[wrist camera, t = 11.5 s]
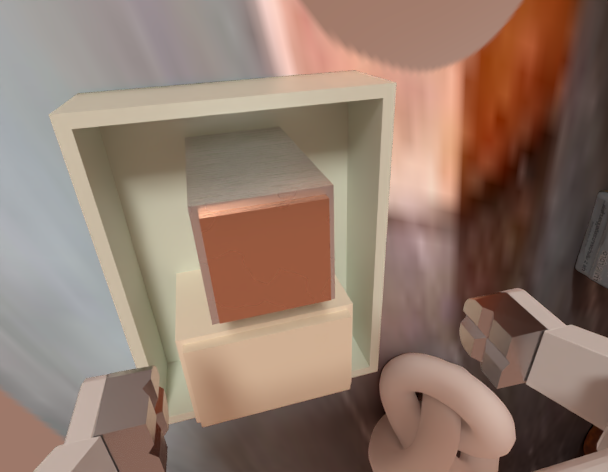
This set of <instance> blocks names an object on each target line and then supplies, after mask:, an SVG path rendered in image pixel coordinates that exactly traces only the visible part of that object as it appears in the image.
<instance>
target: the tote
mask: <svg viewBox="0 0 608 472" xmlns="http://www.w3.org/2000/svg"><path fill="white" fill-rule="evenodd" d="M395 98H396V82H393V81H389V80H386V79H382V78H379V77H376V76H372V75H369V74H365V73H362V72H359V71H355V70H353V71H341V72H329V73H317V74H305V75H293V76H281V77H269V78H257V79H245V80H233V81H221V82H209V83H197V84H185V85H173V86H161V87H149V88H137V89H125V90H113V91H101V92H89V93H78V94H77V95H75V96H74V97H72V98H71V99H70V100H68V101H67V102H66V103H64V104H63V105H61V106H60V107H59V108H57V109H56V110H55V111H53V112H52V113H50V114H49V117H50V120H51V123H52V126H53V128H54V131H55V134H56V137H57V140H58V143H59V146H60V149H61V152H62V154H63V157H64V160H65V163H66V166H67V169H68V172H69V175H70V178H71V180H72V183H73V186H74V189H75V192H76V195H77V198H78V201H79V203H80V206H81V209H82V212H83V215H84V218H85V221H86V224H87V227H88V229H89V232H90V235H91V238H92V241H93V244H94V247H95V250H96V253H97V255H98V258H99V261H100V264H101V267H102V270H103V273H104V276H105V278H106V281H107V284H108V287H109V290H110V293H111V296H112V299H113V302H114V304H115V307H116V310H117V313H118V316H119V319H120V322H121V325H122V327H123V330H124V333H125V336H126V339H127V342H128V345H129V348H130V351H131V353H132V356H133V359H134V362H135V365H136V368H142V367H148V366H153V365H154V366H156V367H157V370H158V373H159V376H160V379H159V386H160V387H161V388H163V389H164V391H165V394H166V398H167V403H168V413H169V424H172V423H176V422H180V421H184V420H188V419H192V418H196V417H195V413H194V410H193V406H192V402H191V399H190V395H189V391H188V387H187V384H186V380H185V376H184V373H183V369H182V365H181V361H180V358H179V354H178V350H177V346H176V343H175V321H176V273H182V272H187V271H193V270H199V269H200V264H199V260H198V255H197V250H196V245H195V241H194V236H193V231H192V226H191V222H190V217H189V212H188V208H187V183H186V157H185V137H194V136H202V135H211V134H220V133H228V132H237V131H245V130H254V129H263V128H271V127H280V128H281V129H282V130H283V131H284V132H285V133H286V134H287V135H288V136H289V137H290V138H291V140H292V141H293V142H294V143H295V144H296V145H297V146H298V147H299V148H300V149H301V150H302V151H303V152H304V154H305V155H306V156H307V157H308V158H309V159H310V160H311V161H312V162H313V163H314V164H315V165H316V167H317V168H318V169H319V170H320V171H321V172H322V173H323V174H324V175H325V176H326V177H327V178H328V180H329V181H330V182H331V183H332V184H333V185H334V251H335V275H336V277H337V278H338V280H339V282H340V283H341V285H342V287H343V288H344V290H345V292H346V293H347V295H348V297H349V298H350V300H351V301H352V303H353V322H352V371H351V378H353V377H357V376H361V375H365V374H369V373H373V372H377V371H378V359H379V344H380V329H381V313H382V298H383V282H384V267H385V252H386V236H387V221H388V205H389V190H390V175H391V159H392V144H393V129H394V113H395Z"/></svg>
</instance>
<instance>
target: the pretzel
mask: <svg viewBox="0 0 608 472" xmlns="http://www.w3.org/2000/svg"><path fill="white" fill-rule="evenodd" d="M379 391H380V397H381V401H382V404H383V407H384V409H385V412H386V414H384V415H383V416H382V417H381V419H380V420H379V421H378V422H377V424H376V425H375V427H374V429H373V432H372V434H371V438H370V443H369V448H368V457H369V461H370V464H371V467H372V470H373V472H498V466H499V457H501V456H504V455H506V454H508V453H509V452H510V450H511V448H512V447H513V445H514V443H515V440H516V435H515V424H514V421H513V418H512V416H511V414H510V412H509V411H508V409H507V408H506V406H505V405H504V403H503V402H502V401H501V400H500V399H499V398H498V397H497V396H496V394H495V393H494V392H492V391H491V390H490V389H489V388H488V387H487V386H486V385H485V384H483V383H482V382H481V381H480V380H478V379H477V378H475V377H474V376H473V375H471V374H470V373H469V372H468V371H467V370H466V369H465V368H463V367H462V366H459V365H456V364H453V363H450V362H447V361H445V360H443V359H441V358H438V357H434V356H431V355H427V354H421V353H405V354H402V355H399V356H397V357H395V358H393V359H391V360H390V361H389V362H388V363H387V364H386V365H385V366H384V368H383V370H382V372H381V377H380V383H379ZM415 392H421V393H423V397H422V401H418V398H417V396H416V394H415ZM458 450H459V451H461V454H460V458H458V457H457V456H456V454H457V451H458Z"/></svg>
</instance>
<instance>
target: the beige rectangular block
mask: <svg viewBox="0 0 608 472" xmlns="http://www.w3.org/2000/svg"><path fill="white" fill-rule="evenodd" d="M352 322H353V303H352V301H351V300H350V298H349V297H348V295H347V293H346V292H345V290H344V288H343V287H342V285H341V283H340V282H339V280H338V278H337V277H336V275H335V299H331V300H329V301H324V302H320V303H315V304H310V305H306V306H301V307H296V308H292V309H287V310H282V311H278V312H273V313H268V314H264V315H259V316H254V317H250V318H245V319H240V320H236V321H231V322H226V323H221V324H220V323H218V324H214V325H212V321H211V316H210V312H209V307H208V302H207V298H206V293H205V288H204V283H203V279H202V274H201V269H199V270H193V271H187V272H182V273H176V321H175V343H176V346H177V350H178V354H179V358H180V361H181V365H182V369H183V373H184V376H185V380H186V384H187V387H188V391H189V395H190V399H191V402H192V406H193V410H194V413H195V417H196V421H197V423H199V422H201V425H202V427H206V426H210V425H214V424H218V423H222V422H225V421H229V420H233V419H237V418H241V417H245V416H249V415H252V414H256V413H260V412H264V411H268V410H272V409H275V408H279V407H283V406H287V405H291V404H295V403H299V402H302V401H306V400H310V399H314V398H318V397H322V396H325V395H329V394H333V393H337V392H341V391H345V390H349V389H350V384H351V371H352Z"/></svg>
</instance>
